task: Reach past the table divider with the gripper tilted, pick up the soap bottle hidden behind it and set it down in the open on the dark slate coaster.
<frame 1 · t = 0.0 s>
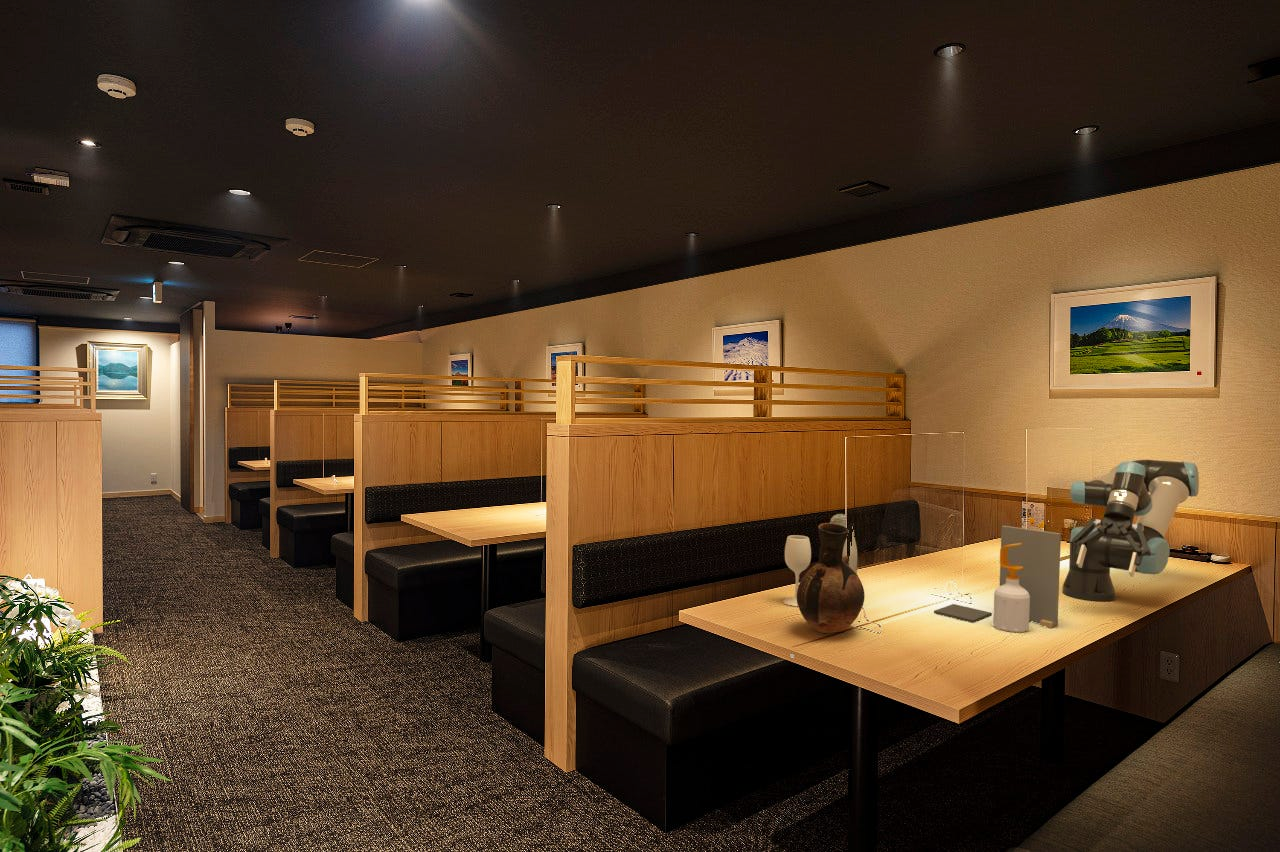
hand: (1104, 570, 219), 15 cm above the table, tool tilted 35°, fingers open, 13 cm apart
ceramic vessel: (829, 631, 208), on the table
wineglass: (796, 603, 235), on the table
soap bottle: (1010, 628, 212), on the table
divider: (1027, 620, 220), on the table
glass bottle: (839, 601, 238), on the table
coaster: (962, 614, 225), on the table
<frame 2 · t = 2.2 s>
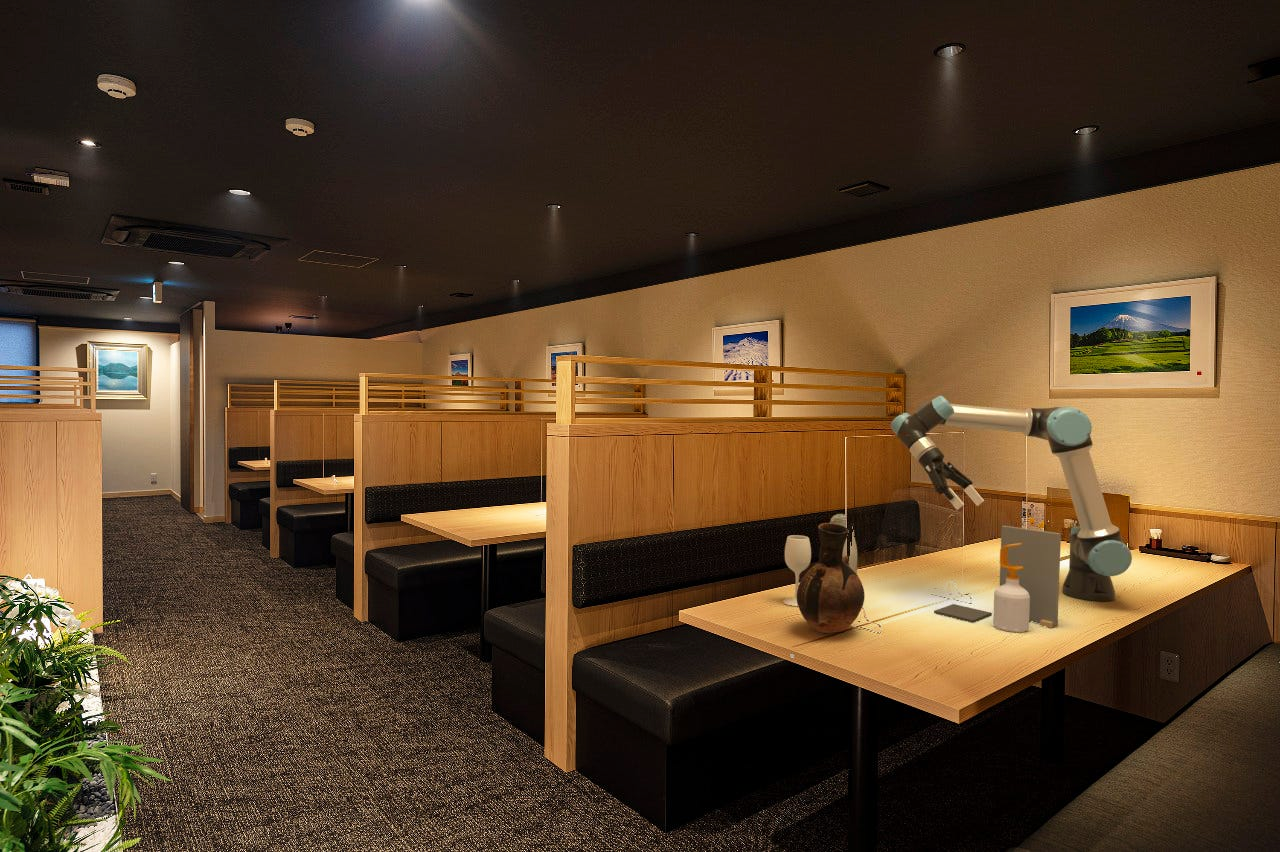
hand: (971, 505, 233), 32 cm above the table, tool tilted 45°, fingers open, 13 cm apart
nothing on the table moved.
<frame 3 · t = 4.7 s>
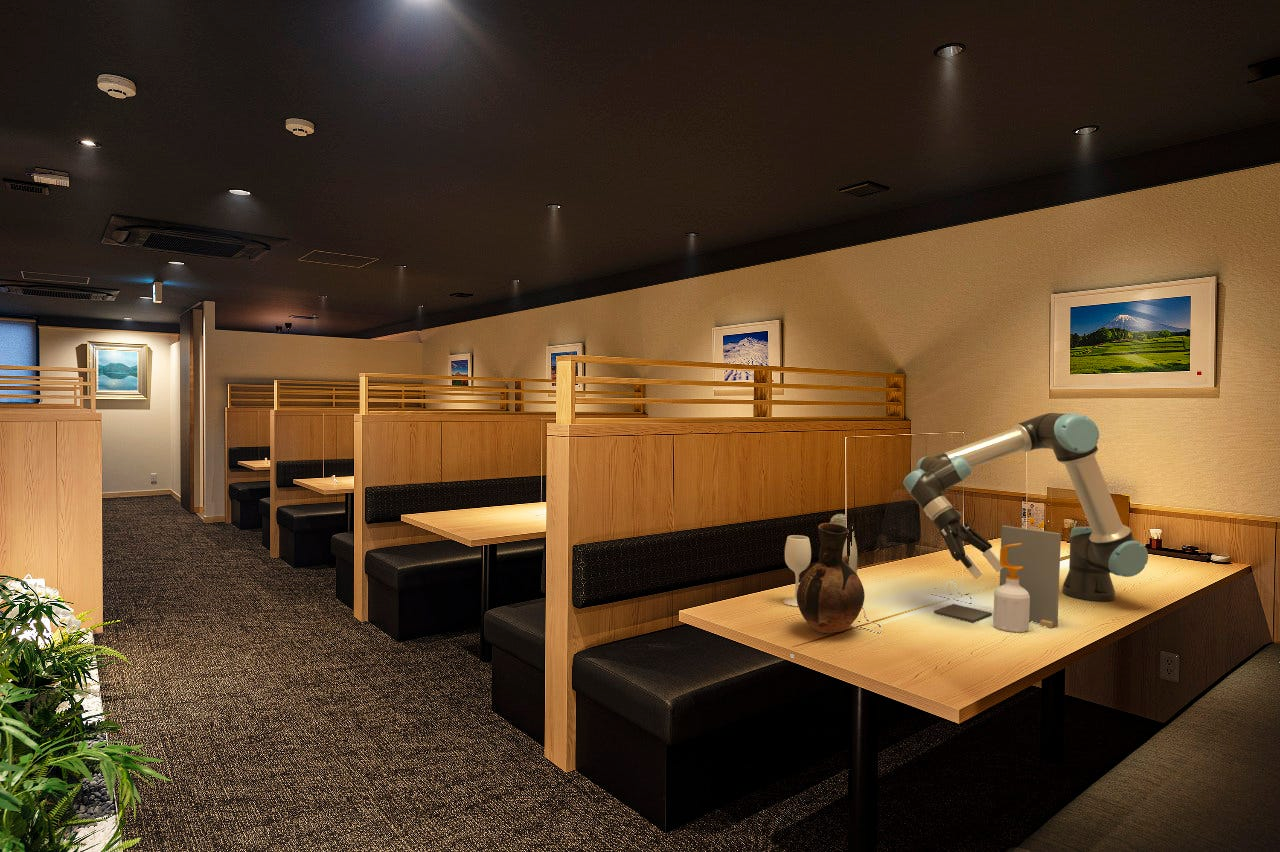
hand: (990, 572, 216), 15 cm above the table, tool tilted 45°, fingers open, 13 cm apart
nothing on the table moved.
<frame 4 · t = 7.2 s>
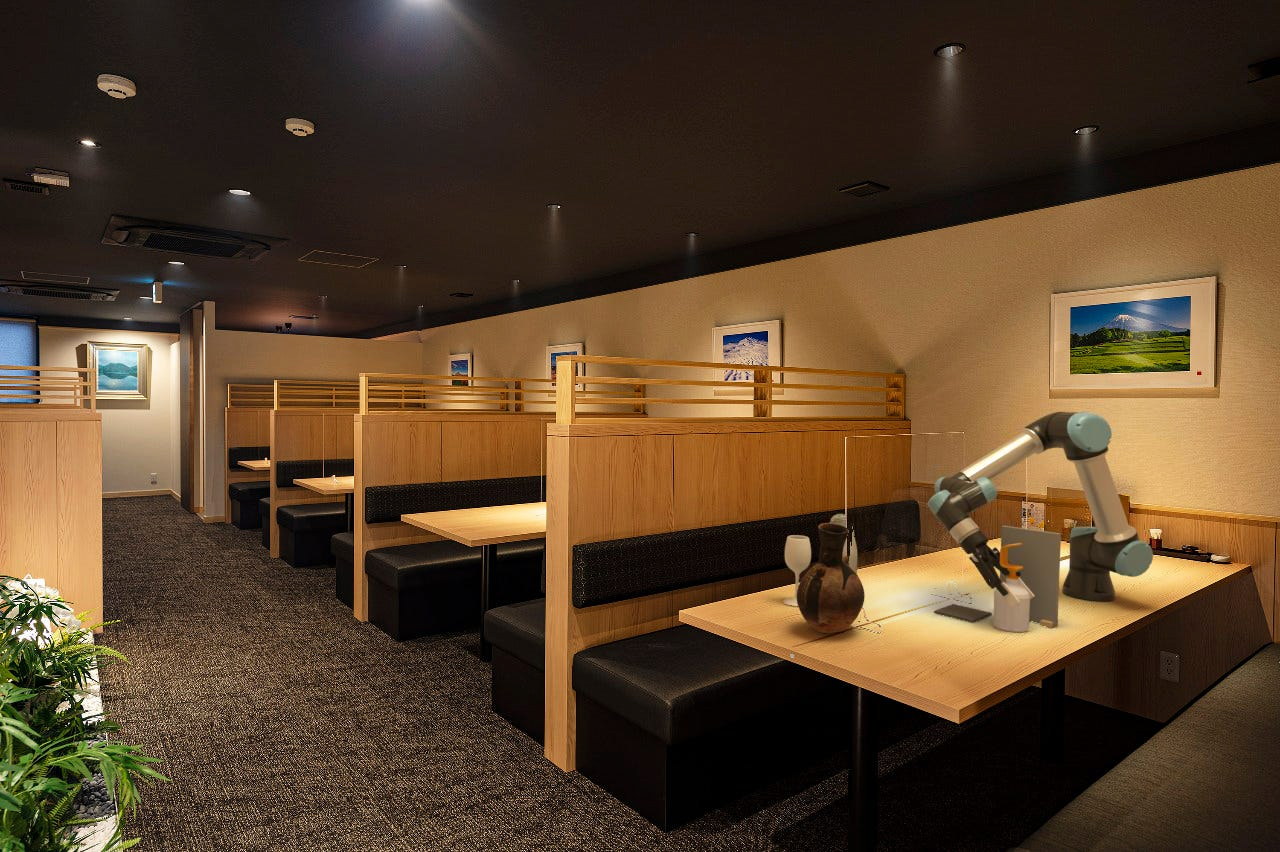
hand: (1023, 601, 210), 8 cm above the table, tool tilted 45°, fingers closed on soap bottle, 9 cm apart
soap bottle: (1010, 628, 212), on the table, touching gripper
everything else where it was.
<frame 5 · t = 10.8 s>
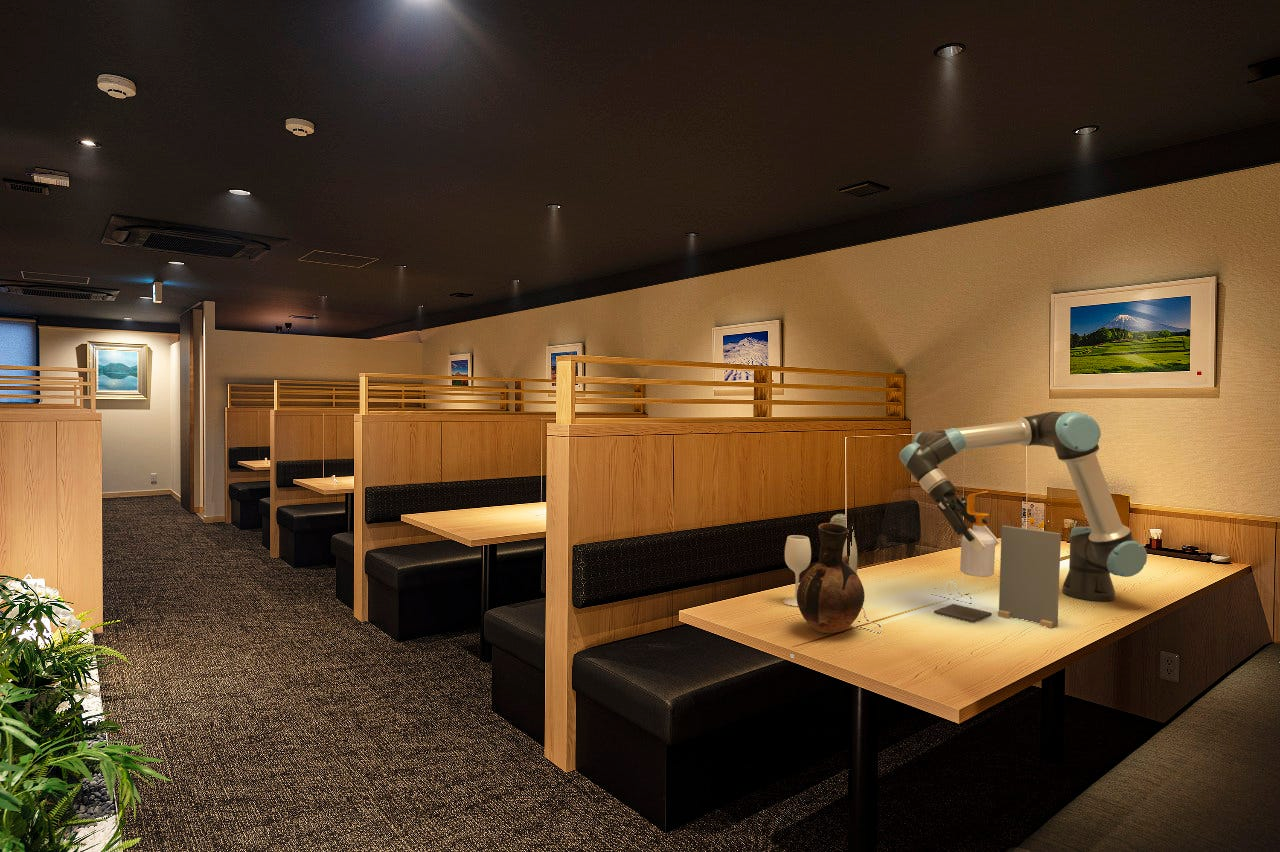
hand: (988, 547, 216), 22 cm above the table, tool tilted 45°, fingers closed on soap bottle, 9 cm apart
soap bottle: (976, 574, 219), point 14 cm above the table, touching gripper
everything else where it was.
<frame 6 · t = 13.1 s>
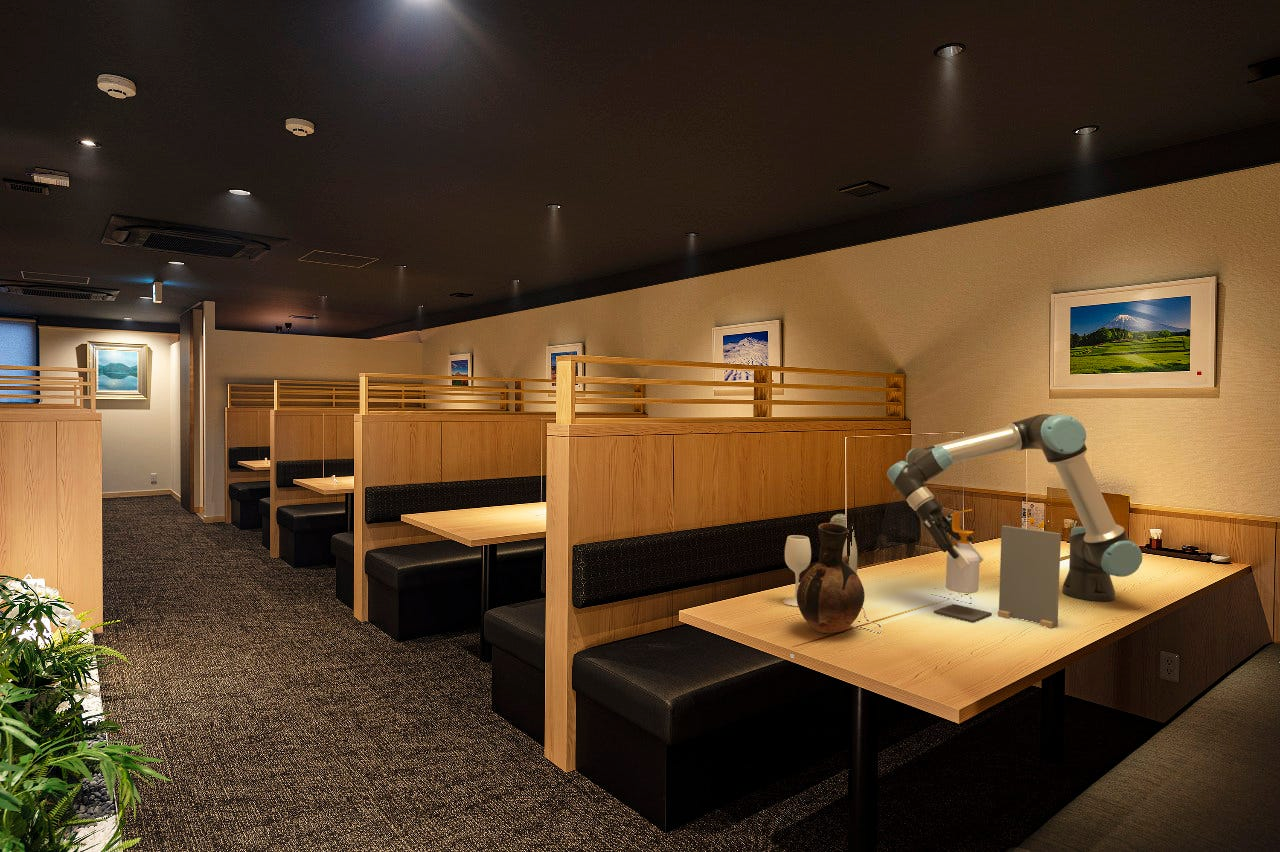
hand: (973, 564, 222), 16 cm above the table, tool tilted 45°, fingers closed on soap bottle, 9 cm apart
soap bottle: (961, 590, 225), point 7 cm above the table, touching gripper
everything else where it was.
when the fingers open (10 cm above the table, at t = 14.9 s): soap bottle drops 1 cm, resting on coaster.
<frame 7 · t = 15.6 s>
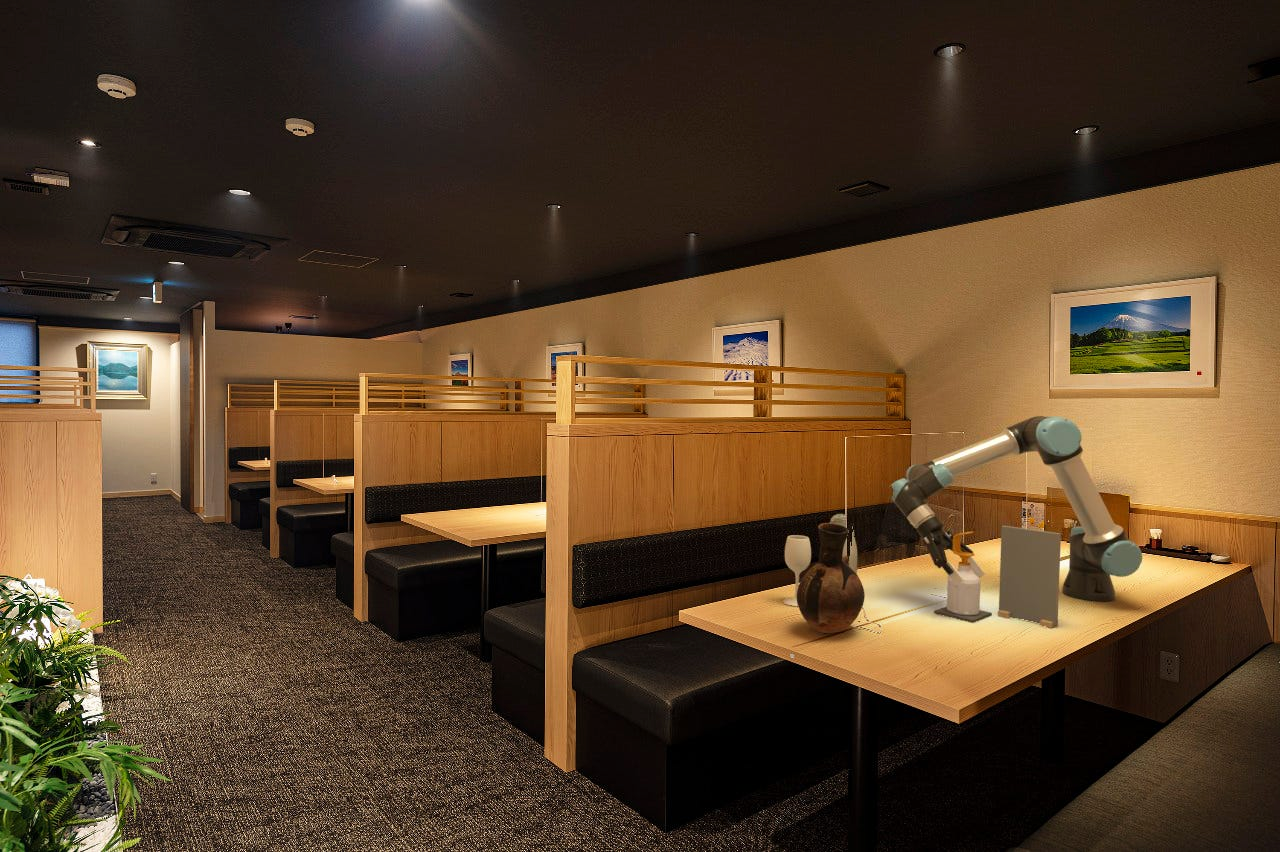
hand: (971, 579, 223), 11 cm above the table, tool tilted 45°, fingers open, 13 cm apart
soap bottle: (962, 612, 225), point 1 cm above the table, touching coaster
everything else where it was.
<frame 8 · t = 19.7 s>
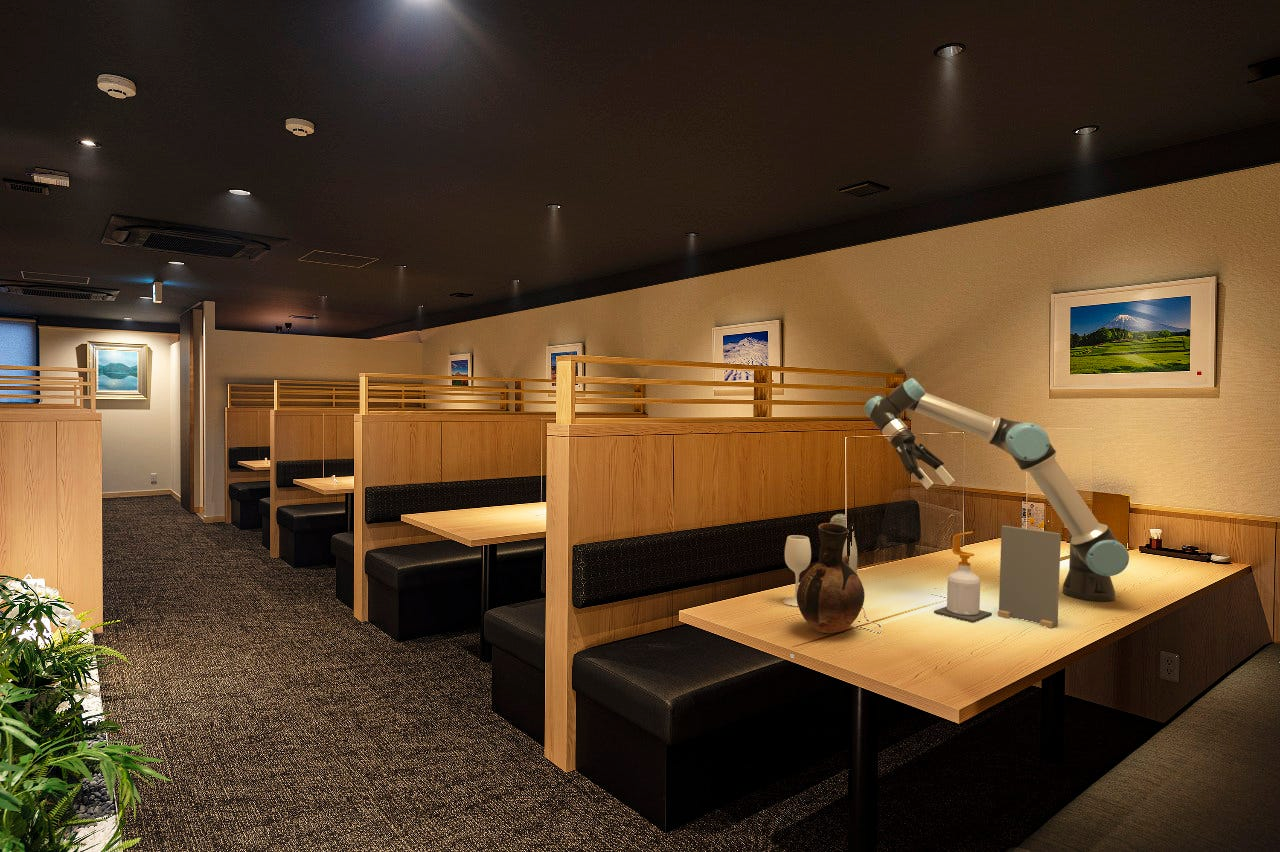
hand: (941, 485, 237), 38 cm above the table, tool tilted 45°, fingers open, 13 cm apart
nothing on the table moved.
at the end: soap bottle inside the target area (0.1 cm from its centre), point 0.6 cm above the table; soap bottle tilted 0°; the gripper is holding nothing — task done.
